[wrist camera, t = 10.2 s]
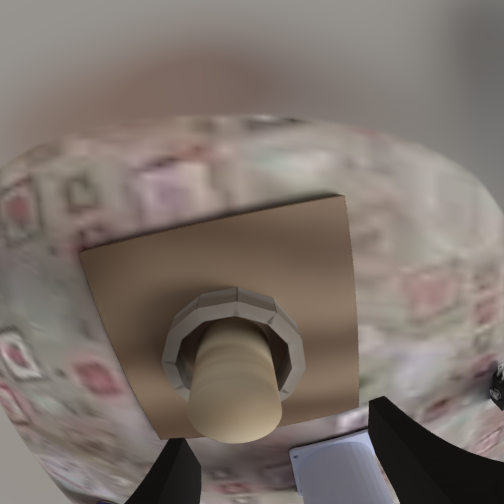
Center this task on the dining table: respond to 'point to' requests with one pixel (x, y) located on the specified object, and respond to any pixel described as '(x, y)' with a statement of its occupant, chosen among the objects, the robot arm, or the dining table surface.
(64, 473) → the dining table surface
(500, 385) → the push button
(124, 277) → the socket board
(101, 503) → the energy drink
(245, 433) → the maple peg
